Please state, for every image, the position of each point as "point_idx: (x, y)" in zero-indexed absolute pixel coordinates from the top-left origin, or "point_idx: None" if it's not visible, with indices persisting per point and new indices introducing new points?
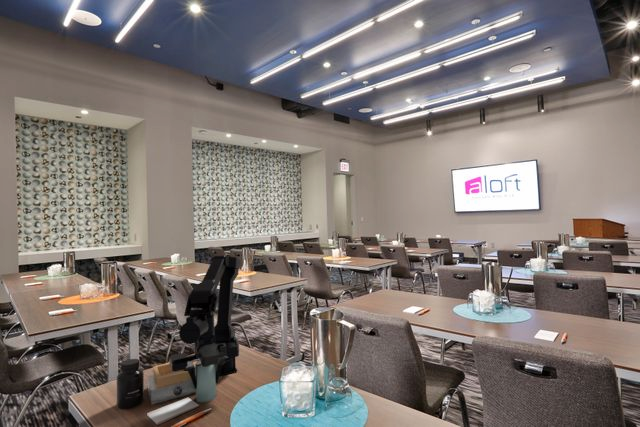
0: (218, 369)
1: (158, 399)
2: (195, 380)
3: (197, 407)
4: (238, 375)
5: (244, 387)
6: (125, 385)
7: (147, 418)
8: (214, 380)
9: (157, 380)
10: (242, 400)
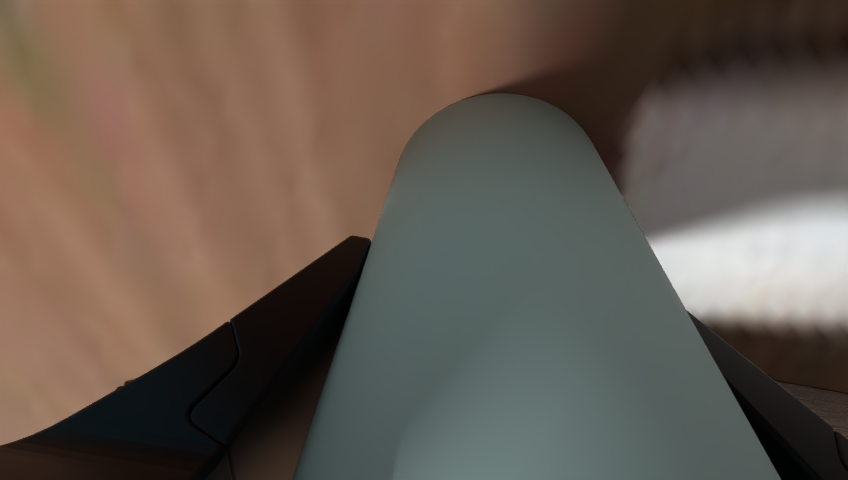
0: (243, 378)
1: (829, 412)
2: (731, 380)
3: (693, 57)
4: (116, 335)
5: (73, 100)
6: None
7: None
8: (403, 230)
9: None
10: None
